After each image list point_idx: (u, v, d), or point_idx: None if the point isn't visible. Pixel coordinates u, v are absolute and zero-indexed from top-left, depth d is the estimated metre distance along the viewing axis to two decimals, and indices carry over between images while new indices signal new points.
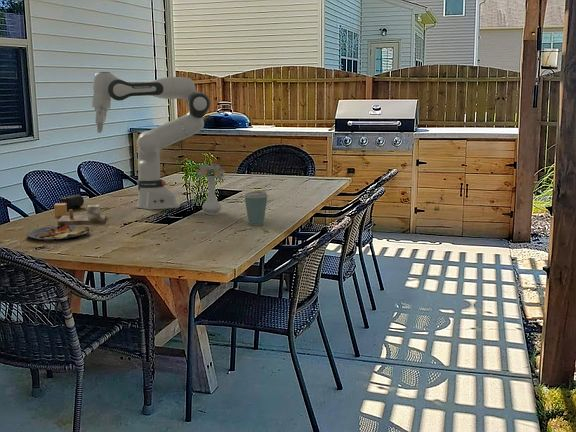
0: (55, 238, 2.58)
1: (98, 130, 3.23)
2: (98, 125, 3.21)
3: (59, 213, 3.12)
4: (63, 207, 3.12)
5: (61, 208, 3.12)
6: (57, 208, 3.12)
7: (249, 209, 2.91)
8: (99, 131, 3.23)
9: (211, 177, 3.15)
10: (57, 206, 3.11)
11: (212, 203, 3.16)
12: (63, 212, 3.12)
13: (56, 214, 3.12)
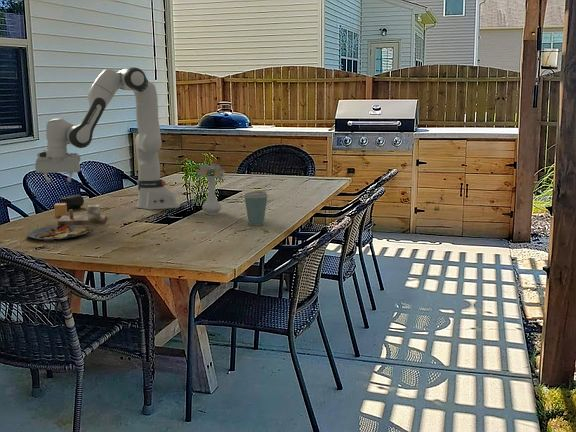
0: (55, 238, 2.58)
1: (70, 179, 3.12)
2: (72, 174, 3.12)
3: (59, 213, 3.12)
4: (63, 207, 3.12)
5: (61, 208, 3.12)
6: (57, 208, 3.12)
7: (249, 209, 2.91)
8: (70, 180, 3.13)
9: (211, 177, 3.15)
10: (57, 206, 3.11)
11: (212, 203, 3.16)
12: (63, 212, 3.12)
13: (56, 214, 3.12)
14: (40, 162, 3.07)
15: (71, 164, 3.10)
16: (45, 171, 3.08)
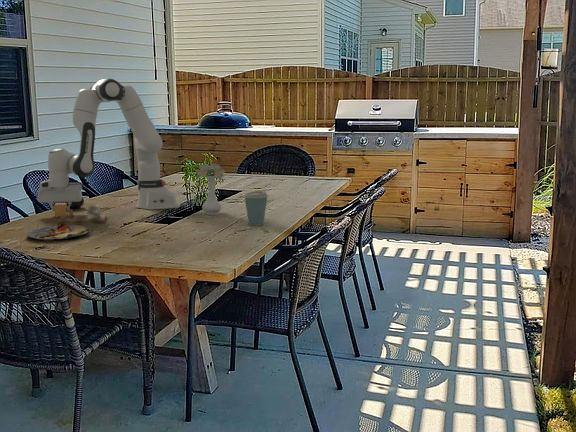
0: (55, 238, 2.58)
1: (69, 208, 3.15)
2: (70, 203, 3.14)
3: (59, 213, 3.12)
4: (63, 207, 3.12)
5: (61, 208, 3.12)
6: (57, 208, 3.12)
7: (249, 209, 2.91)
8: (69, 209, 3.15)
9: (211, 177, 3.15)
10: (57, 206, 3.11)
11: (212, 203, 3.16)
12: (63, 212, 3.12)
13: (56, 214, 3.12)
14: (42, 192, 3.10)
15: (73, 193, 3.12)
16: (47, 201, 3.11)
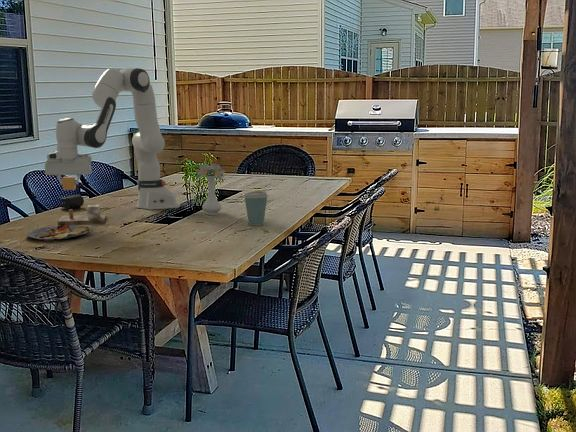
0: (55, 238, 2.58)
1: None
2: (79, 176, 2.97)
3: (67, 186, 2.95)
4: (72, 180, 2.95)
5: (70, 181, 2.95)
6: (65, 181, 2.95)
7: (249, 209, 2.91)
8: None
9: (211, 177, 3.15)
10: (65, 179, 2.94)
11: (212, 203, 3.16)
12: (72, 186, 2.95)
13: (64, 187, 2.95)
14: (49, 164, 2.93)
15: (82, 166, 2.95)
16: (55, 173, 2.94)
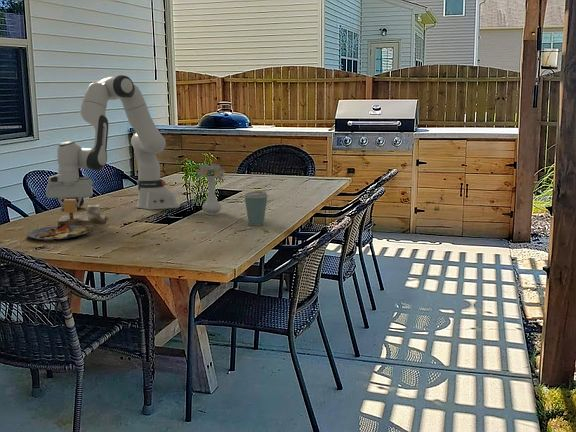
0: (55, 238, 2.58)
1: None
2: None
3: (68, 209, 2.97)
4: (73, 203, 2.97)
5: (71, 204, 2.97)
6: (66, 204, 2.96)
7: (249, 209, 2.91)
8: None
9: (211, 177, 3.15)
10: (66, 202, 2.96)
11: (212, 203, 3.16)
12: (73, 208, 2.97)
13: (65, 210, 2.97)
14: (51, 187, 2.95)
15: (83, 189, 2.97)
16: (56, 196, 2.96)
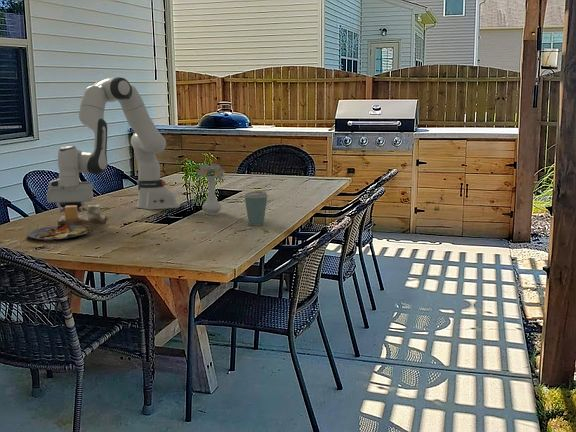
0: (55, 238, 2.58)
1: None
2: (84, 203, 3.00)
3: (69, 216, 2.98)
4: (74, 209, 2.98)
5: (72, 211, 2.97)
6: (67, 210, 2.97)
7: (249, 209, 2.91)
8: (82, 209, 3.01)
9: (211, 177, 3.15)
10: (67, 208, 2.97)
11: (212, 203, 3.16)
12: (74, 215, 2.98)
13: (66, 217, 2.98)
14: (52, 192, 2.95)
15: (84, 193, 2.98)
16: (57, 201, 2.96)
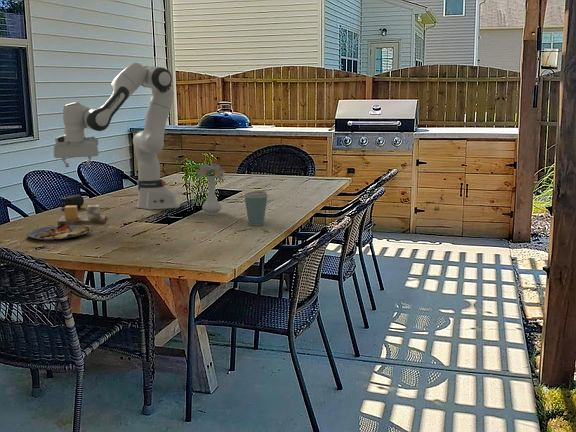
0: (55, 238, 2.58)
1: (89, 163, 3.10)
2: (90, 158, 3.10)
3: (69, 216, 2.98)
4: (74, 209, 2.98)
5: (72, 211, 2.97)
6: (67, 210, 2.97)
7: (249, 209, 2.91)
8: (89, 164, 3.11)
9: (211, 177, 3.15)
10: (67, 208, 2.97)
11: (212, 203, 3.16)
12: (74, 215, 2.98)
13: (66, 217, 2.98)
14: (58, 147, 3.04)
15: (89, 148, 3.07)
16: (64, 156, 3.06)
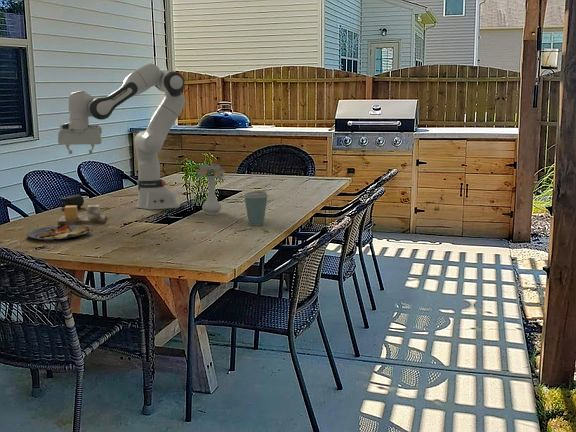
0: (55, 238, 2.58)
1: None
2: None
3: (69, 216, 2.98)
4: (74, 209, 2.98)
5: (72, 211, 2.97)
6: (67, 210, 2.97)
7: (249, 209, 2.91)
8: None
9: (211, 177, 3.15)
10: (67, 208, 2.97)
11: (212, 203, 3.16)
12: (74, 215, 2.98)
13: (66, 217, 2.98)
14: (62, 134, 3.12)
15: (93, 136, 3.15)
16: (67, 143, 3.13)
